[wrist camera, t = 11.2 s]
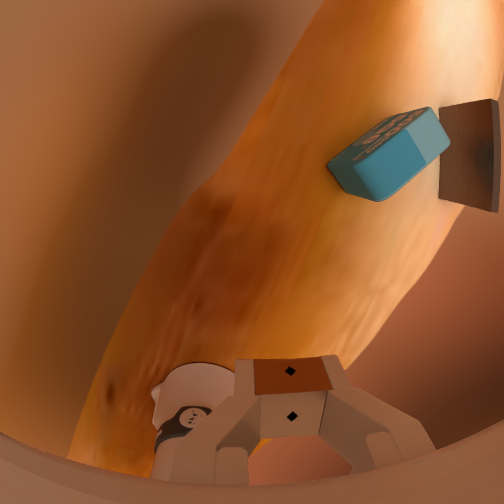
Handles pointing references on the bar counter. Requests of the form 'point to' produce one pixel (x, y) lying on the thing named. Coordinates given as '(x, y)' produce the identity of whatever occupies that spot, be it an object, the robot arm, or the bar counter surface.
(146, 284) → the bar counter surface
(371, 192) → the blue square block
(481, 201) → the bookend
